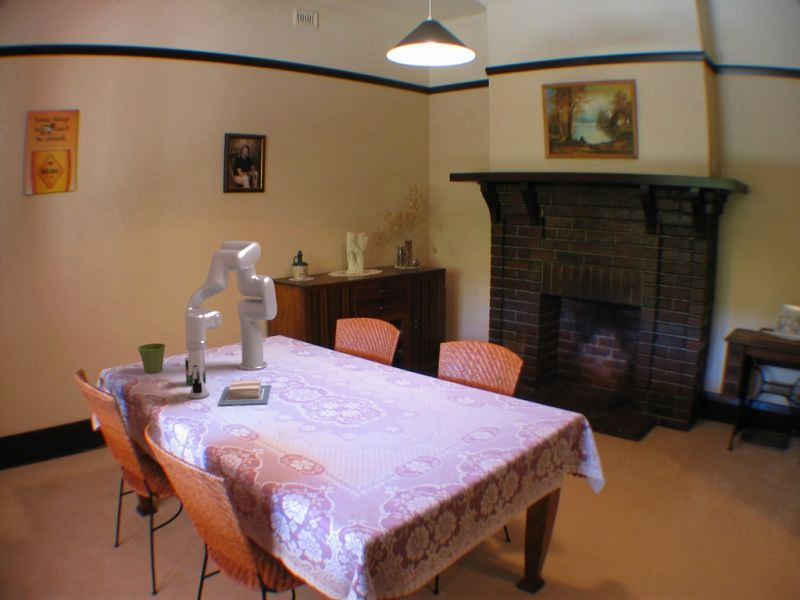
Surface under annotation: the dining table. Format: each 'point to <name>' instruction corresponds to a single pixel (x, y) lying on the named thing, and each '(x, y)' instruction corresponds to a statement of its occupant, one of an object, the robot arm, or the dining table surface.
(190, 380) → the canned tomato
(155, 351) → the plant pot
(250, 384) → the birch plinth
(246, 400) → the board
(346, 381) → the dining table surface
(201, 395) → the flask
